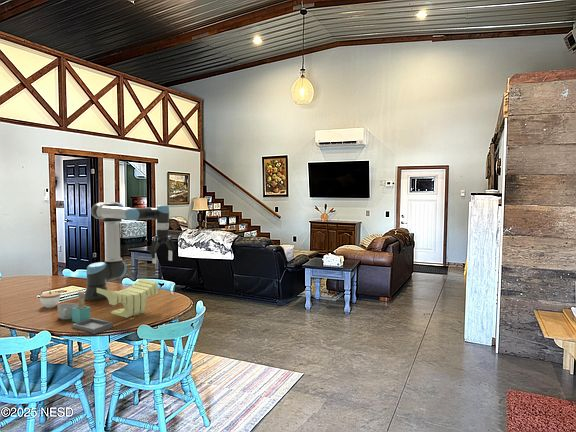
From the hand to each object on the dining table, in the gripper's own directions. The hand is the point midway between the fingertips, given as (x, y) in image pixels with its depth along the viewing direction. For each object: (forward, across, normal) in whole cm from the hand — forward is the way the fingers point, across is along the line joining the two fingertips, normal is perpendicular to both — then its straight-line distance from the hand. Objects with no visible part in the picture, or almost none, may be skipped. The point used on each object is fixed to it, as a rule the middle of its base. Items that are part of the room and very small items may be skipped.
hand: (162, 261), depth 253 cm
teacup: (+28, -51, +20) cm, 61 cm away
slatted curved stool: (+28, -26, 0) cm, 38 cm away
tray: (+28, -52, -4) cm, 59 cm away
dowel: (+27, -49, +11) cm, 57 cm away
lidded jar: (+28, -41, +53) cm, 73 cm away
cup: (+28, -49, +11) cm, 57 cm away
